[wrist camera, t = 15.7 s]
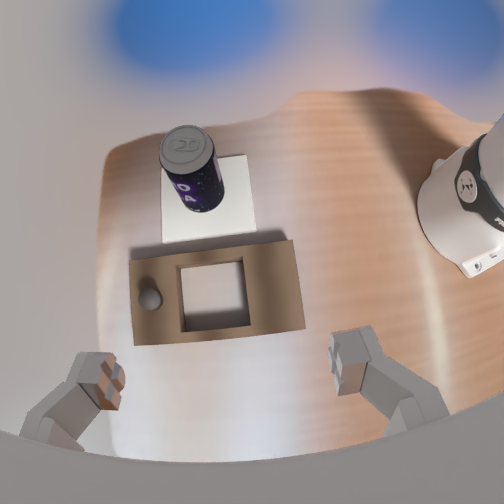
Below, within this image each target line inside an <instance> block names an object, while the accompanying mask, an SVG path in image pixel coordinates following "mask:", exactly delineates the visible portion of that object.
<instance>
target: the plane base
mask: <svg viewBox="0 0 504 504" xmlns="http://www.w3.org/2000/svg"><path fill="white" fill-rule="evenodd" d="M239 261H243V264H244V272H245V280H246V289H247V297H248V305H249V314H250V322H251V326H243V327H234V328H225V329H215V330H205V331H194V332H186V327H185V317H184V306H183V294H182V282H181V269H182V268H190V267H199V266H207V265H215V264H223V263H231V262H239ZM129 275H130V298H131V314H132V327H133V338H134V346H139V345H158V344H174V343H188V342H200V341H212V340H222V339H232V338H241V337H250V336H258V335H266V334H274V333H281V332H288V331H295V330H302V329H306V326H305V319H304V312H303V305H302V298H301V291H300V284H299V277H298V271H297V264H296V258H295V251H294V245H293V240H286V241H278V242H270V243H262V244H254V245H246V246H238V247H230V248H222V249H214V250H206V251H198V252H191V253H183V254H175V255H167V256H160V257H152V258H144V259H137V260H129Z"/></svg>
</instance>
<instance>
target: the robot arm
mask: <svg viewBox="0 0 504 504" xmlns="http://www.w3.org/2000/svg"><path fill="white" fill-rule="evenodd" d="M417 206H418V215H419V219H420V223H421V226H422V228H423V231H424V233H425V235H426V236H427V238H428V240H429V241H430V243H431V244H432V245H433V247H434V248H435V249H436V250H437V251H438V252H439V253H440V254H441V255H443V256H444V257H446V258H447V259H449V260H451V261H452V262H454V263H455V264H456V265H457V266H458V267H459V268H460V270H461V271H462V272H463V274H464V275H465V276H466V277H468V278H472V277H474V276H476V275H478V274H479V273H481V272H483V271H485V270H486V269H488V268H490V267H491V266H493V265H495V264H496V263H498V262H500V261H501V260H503V259H504V114H503V116H502V117H501V118H500V119H499V121H498V122H497V123H496V124H495V126H494V127H493V128H492V129H491V130H490V131H489V133H487V134H483V135H482V136H480V137H479V138H478V139H476V140H475V141H474V142H473V143H472V144H471V145H470V146H469V147H466V146H462V147H460V148H459V149H458V150H457V151H456V152H454V153H453V154H452V155H451V156H450V157H449V158H447V159H446V160H444V159H438V160H436V161H435V162H434V163H433V166H432V171H431V174H430V176H429V177H428V178H427V179H426V180H425V182H424V183H423V184H422V186H421V188H420V191H419V195H418V202H417ZM475 265H476V268H475ZM329 342H330V345H331V346H330V347H329V348H328V359H329V366H330V370H331V373H333V374H334V375H335V376H334V385H335V388H336V392H337V395H338V396H343V395H348V394H354V393H359V392H360V394H361V395H362V396H363V397H365V398H366V399H367V400H368V401H369V402H370V403H371V404H372V405H373V406H375V407H376V408H377V409H378V410H379V411H380V412H381V413H382V414H384V415H385V416H386V417H387V418H388V419H389V420H390V422H389V424H388V425H387V427H386V429H385V431H384V433H383V438H381V439H377V440H373V441H369V442H365V443H361V444H357V445H353V446H348V447H344V448H339V449H334V450H329V451H323V452H318V453H312V454H305V455H299V456H291V457H283V458H275V459H265V460H253V461H237V462H166V461H150V460H139V459H129V458H121V457H113V456H106V455H99V454H93V453H87V452H84V451H85V450H84V448H83V446H81V445H80V444H79V443H78V442H77V441H76V440H77V439H78V438H79V436H80V435H81V434H82V433H83V431H84V430H85V429H86V428H87V427H88V425H89V424H90V423H91V422H92V420H93V419H94V418H95V417H96V416H97V415H98V413H99V412H100V410H116V411H118V409H119V405H120V401H121V395H120V393H119V392H120V391H121V390H122V389H124V385H125V374H124V370H123V369H122V367H121V366H120V365H119V364H117V363H116V357H115V356H114V354H113V353H106V352H79V353H78V354H77V355H76V358H75V360H74V362H73V365H72V367H71V370H70V372H69V374H68V377H67V379H66V382H62V383H61V384H60V385H59V386H57V387H56V388H55V389H54V390H53V391H52V392H51V393H49V394H48V395H47V396H46V397H45V398H44V399H42V400H41V401H40V402H39V403H38V404H37V405H36V406H34V407H33V408H32V409H31V410H30V411H29V412H28V413H27V416H26V418H25V421H24V424H23V426H22V429H21V431H20V434H19V436H18V435H14V434H11V433H8V432H5V431H2V430H0V504H504V390H503V391H502V392H500V393H498V394H496V395H494V396H492V397H490V398H488V399H486V400H483V401H481V402H479V403H477V404H475V405H473V406H470V407H468V408H466V409H464V410H461V411H459V412H456V413H454V414H452V415H450V413H449V411H448V409H447V407H446V405H445V403H444V400H443V398H442V396H441V394H440V392H439V390H438V388H437V387H436V386H434V385H432V384H431V383H429V382H428V381H426V380H425V379H423V378H422V377H420V376H418V375H417V374H415V373H414V372H412V371H411V370H409V369H407V368H406V367H404V366H403V365H401V364H400V363H398V362H397V361H395V360H393V359H392V358H390V357H388V358H386V356H385V354H384V352H383V350H382V348H381V345H380V343H379V341H378V339H377V337H376V334H375V332H374V330H373V328H372V327H371V326H370V325H369V326H364V327H359V328H353V329H348V330H343V331H338V332H332V333H330V335H329Z"/></svg>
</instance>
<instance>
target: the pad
mask: <svg viewBox="0 0 504 504" xmlns="http://www.w3.org/2000/svg"><path fill="white" fill-rule="evenodd" d="M217 160H218V164H219V168H220V172H221V176H222V180H223V184H224V188H225V194H224V197H223V200H222V201H221V203H220V204H219V205H218V206H217V207H216V208H215V209H213V210H211V211H208V212H204V213H198V212H193V211H191V210H189V209H188V208H187V207H186V206H185V205H184V203H183V202H182V200H181V198H180V197H179V195H178V193H177V191H176V190H175V188H174V186H173V184H172V183H171V181H170V179H169V178H168V176H167V174H166V172H165V171H164V169H163V168H161V211H162V242H163V243H164V244H168V243H176V242H183V241H190V240H198V239H205V238H213V237H221V236H228V235H236V234H244V233H252V232H257V231H256V223H255V216H254V208H253V201H252V193H251V186H250V178H249V171H248V164H247V156H246V155H241V156H233V157H226V158H219V159H217Z"/></svg>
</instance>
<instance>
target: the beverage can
mask: <svg viewBox="0 0 504 504" xmlns="http://www.w3.org/2000/svg"><path fill="white" fill-rule="evenodd" d="M159 159H160V163H161V165H162V167H163V169H164V171H165V172H166V174H167V176H168V178H169V179H170V181H171V183H172V184H173V186H174V188H175V190H176V191H177V193H178V195H179V197H180V198H181V200H182V202H183V203H184V205H185V206H186V207H187V208H188V209H189V210H191V211H193V212H198V213H204V212H208V211H211V210H213V209H215V208H216V207H217V206H218V205H219V204H220V203H221V201H222V200H223V197H224V194H225V188H224V184H223V180H222V176H221V172H220V168H219V164H218V160H217V156H216V152H215V148H214V144H213V141H212V139H211V138H210V137H209V136H208V135H207V134H206V133H205V132H204V131H203V130H202V129H201V128H199V127H197V126H193V125H184V126H179V127H176V128H174V129H173V130H171V131H170V132H168V133H167V134H166V135H165V136H164V138H163V139H162V141H161V144H160V154H159Z"/></svg>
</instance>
